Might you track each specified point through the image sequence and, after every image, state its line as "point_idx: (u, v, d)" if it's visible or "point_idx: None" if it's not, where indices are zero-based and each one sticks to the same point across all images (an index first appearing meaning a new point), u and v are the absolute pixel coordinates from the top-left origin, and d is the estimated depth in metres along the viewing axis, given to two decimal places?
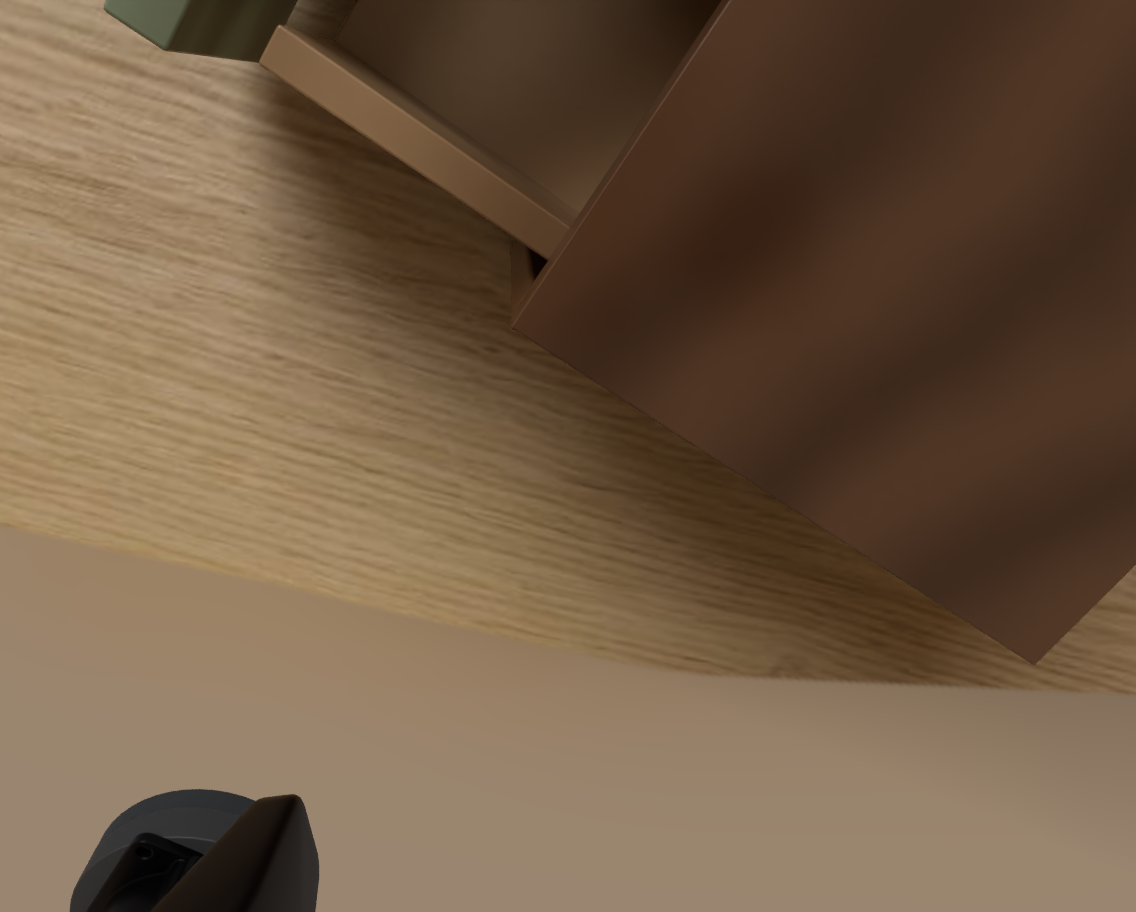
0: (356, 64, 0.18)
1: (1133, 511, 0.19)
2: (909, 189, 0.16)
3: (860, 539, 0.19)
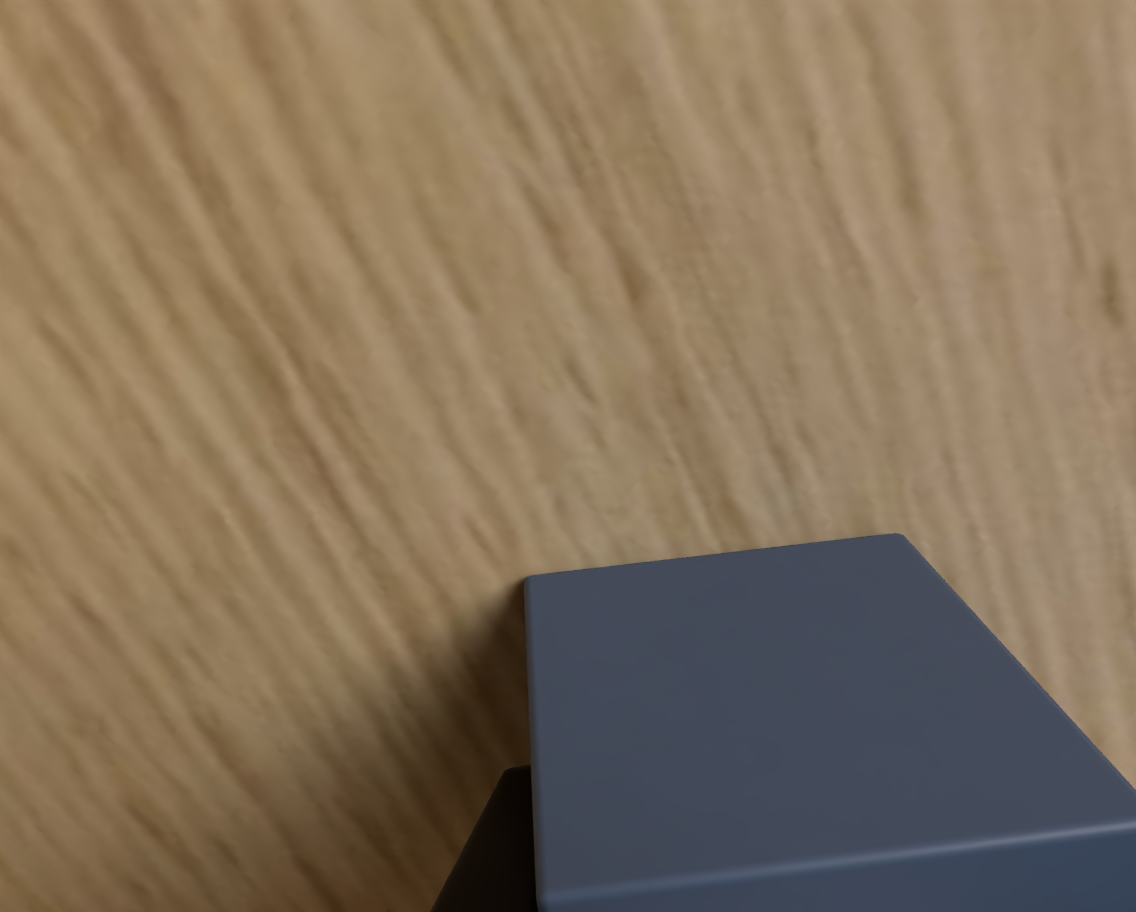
0: None
1: None
2: None
3: None
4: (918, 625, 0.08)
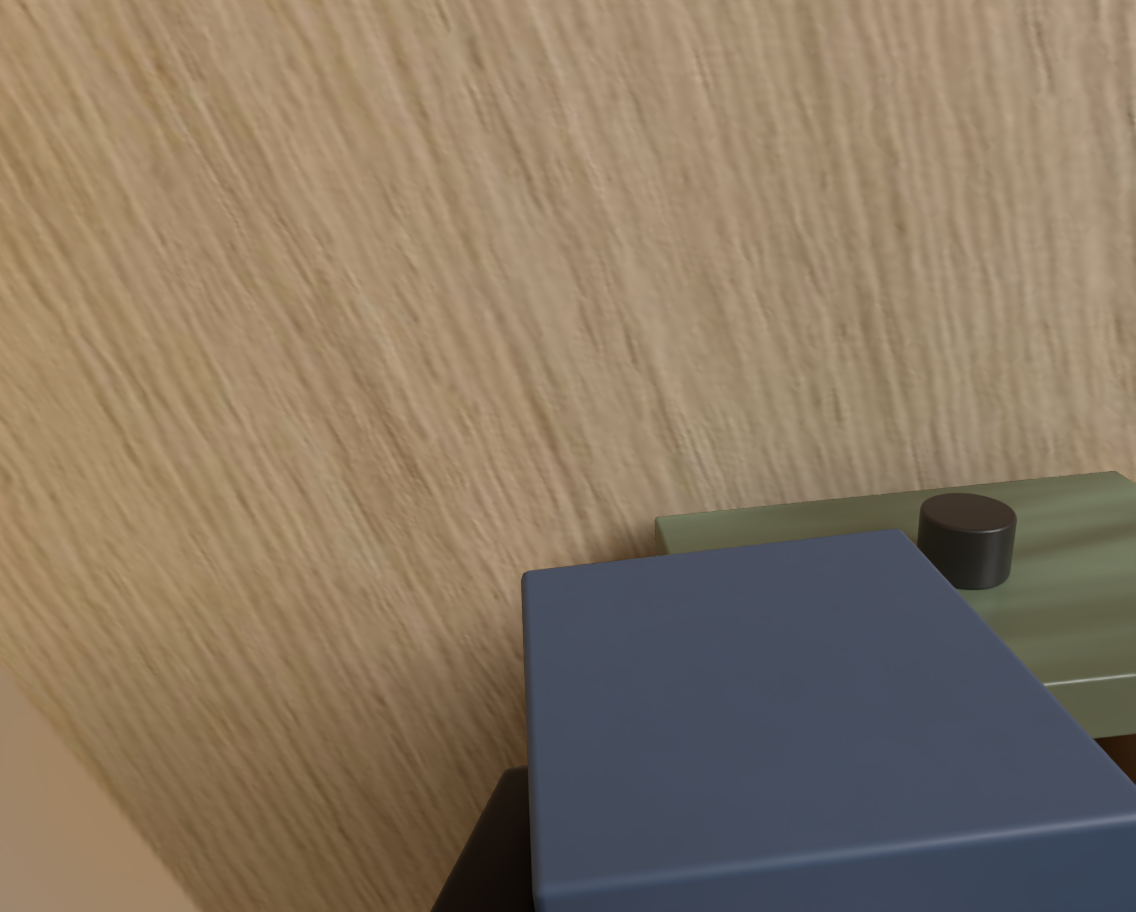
0: None
1: None
2: None
3: None
4: (916, 620, 0.08)
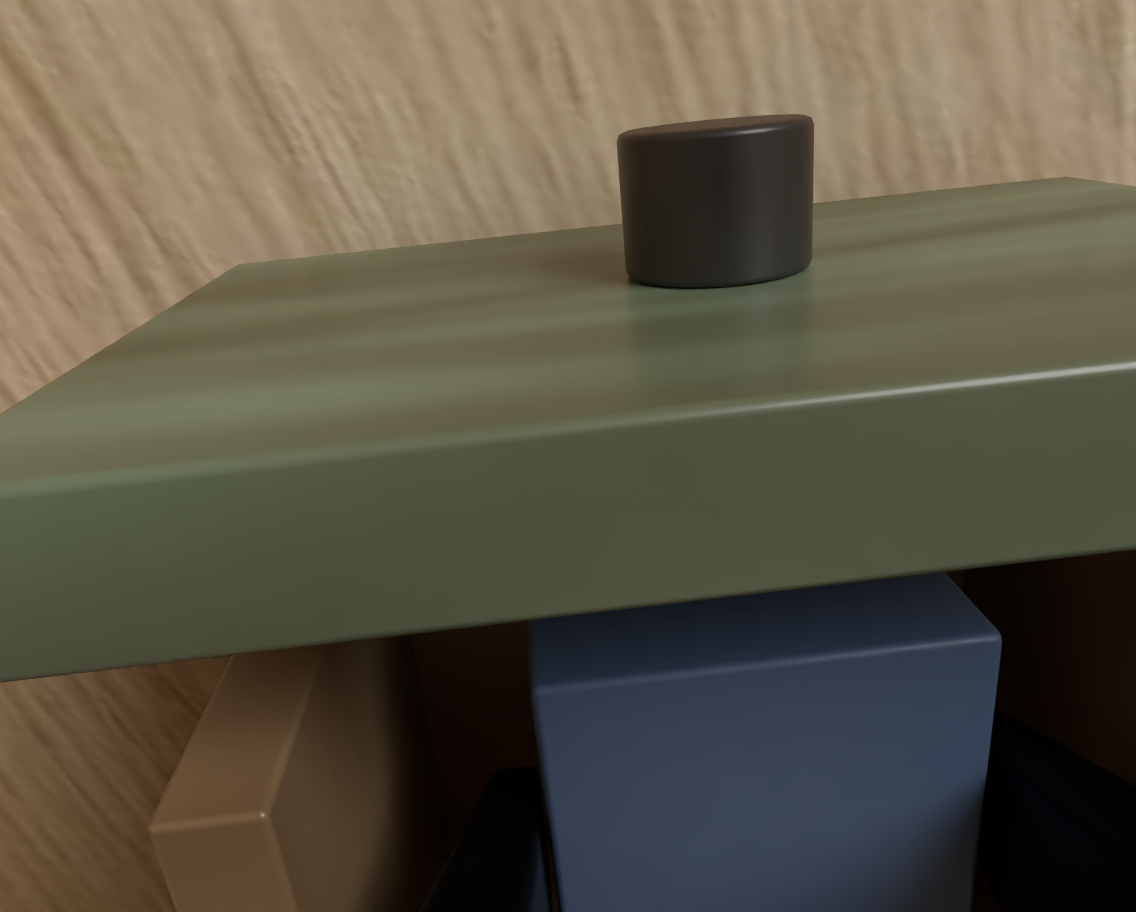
0: (364, 672, 0.09)
1: None
2: None
3: None
4: None
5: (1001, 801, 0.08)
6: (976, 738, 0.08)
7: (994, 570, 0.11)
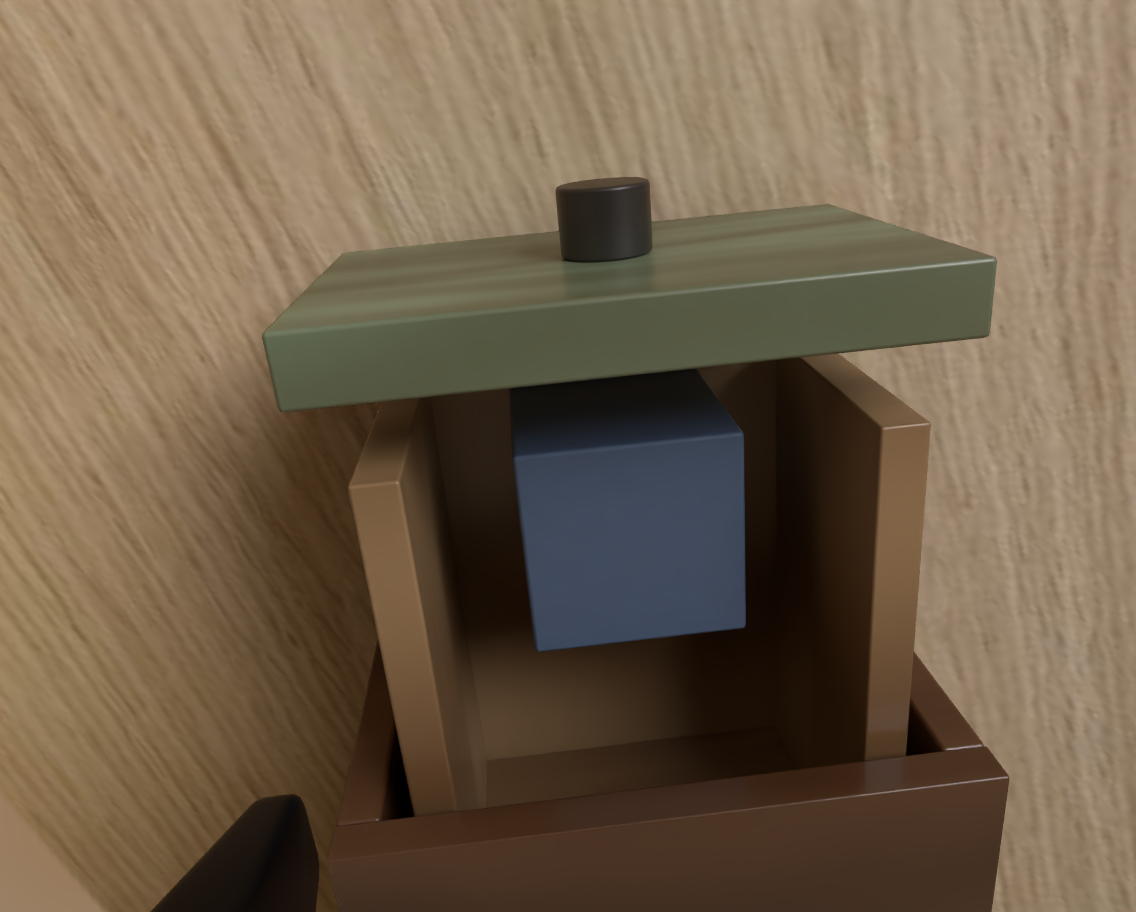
0: (424, 468, 0.16)
1: None
2: None
3: None
4: (684, 393, 0.17)
5: None
6: (735, 489, 0.15)
7: (786, 434, 0.19)
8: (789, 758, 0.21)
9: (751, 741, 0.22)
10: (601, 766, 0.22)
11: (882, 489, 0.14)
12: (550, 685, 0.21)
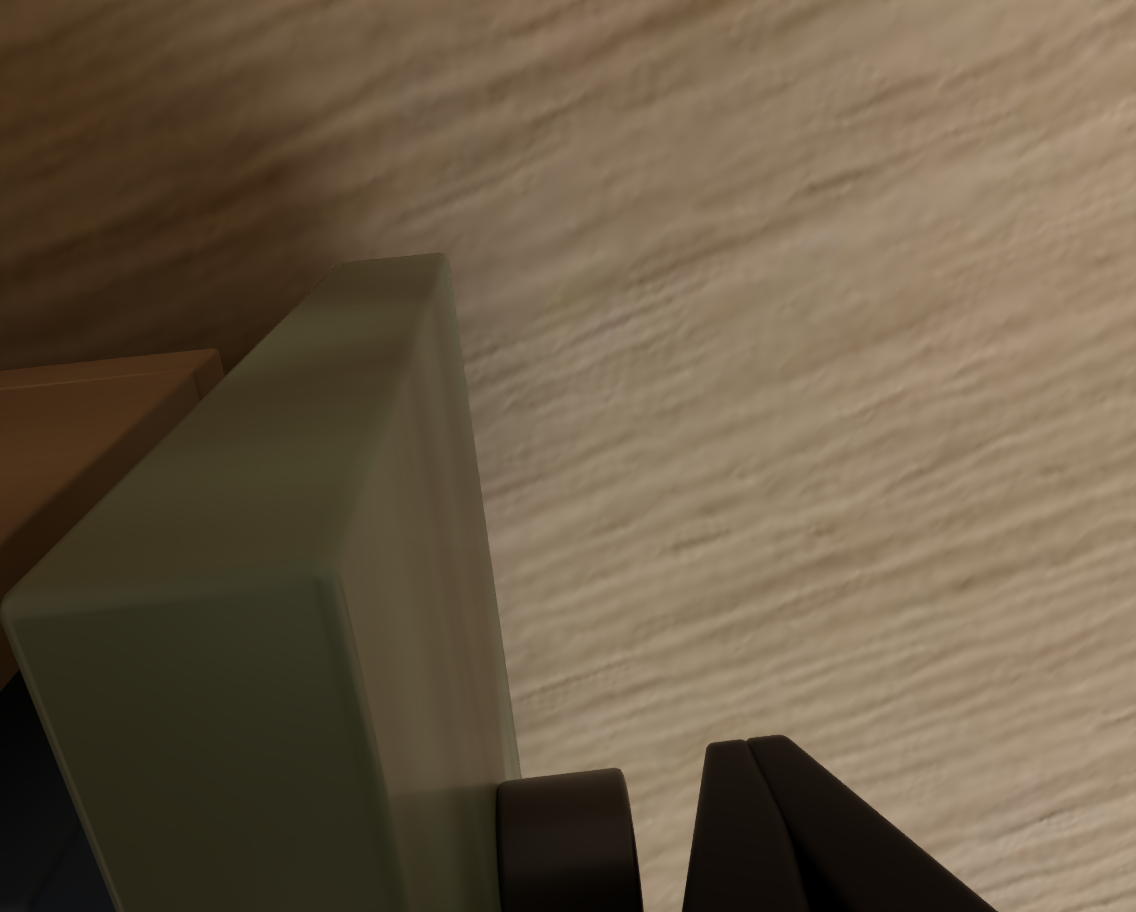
0: None
1: None
2: None
3: None
4: None
5: None
6: None
7: None
8: None
9: None
10: None
11: None
12: None
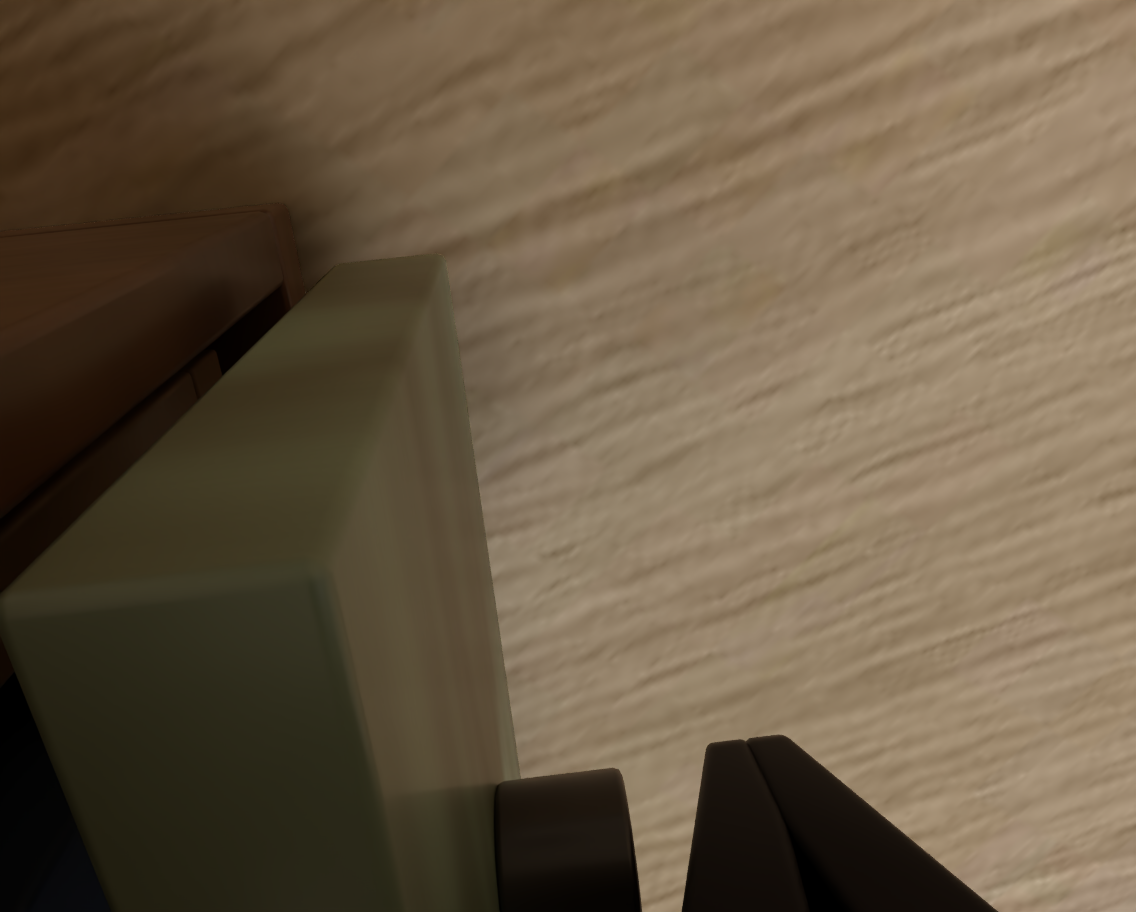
0: None
1: None
2: None
3: None
4: None
5: None
6: None
7: None
8: None
9: None
10: None
11: None
12: None
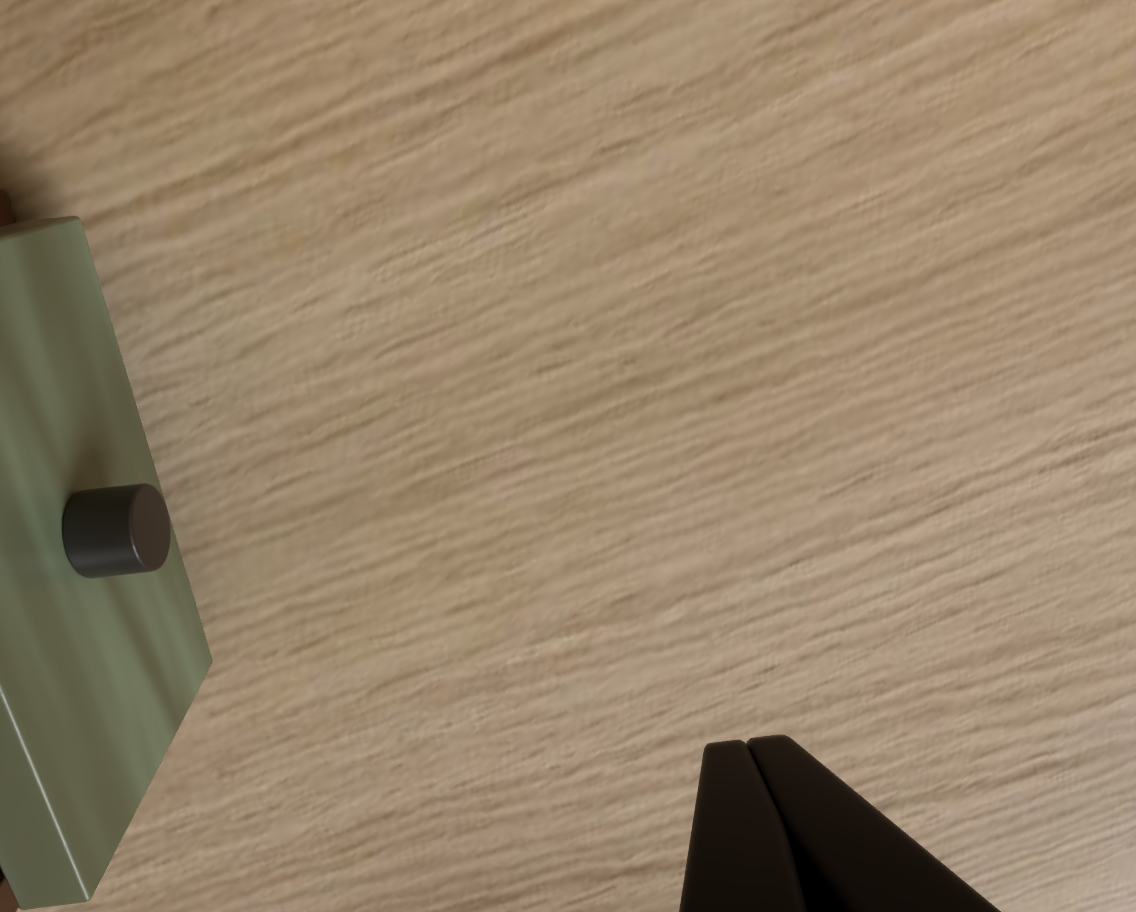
0: None
1: None
2: None
3: None
4: None
5: None
6: None
7: None
8: None
9: None
10: None
11: None
12: None
